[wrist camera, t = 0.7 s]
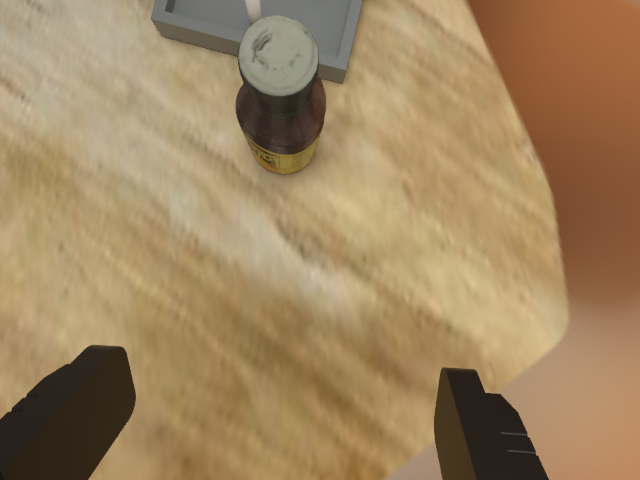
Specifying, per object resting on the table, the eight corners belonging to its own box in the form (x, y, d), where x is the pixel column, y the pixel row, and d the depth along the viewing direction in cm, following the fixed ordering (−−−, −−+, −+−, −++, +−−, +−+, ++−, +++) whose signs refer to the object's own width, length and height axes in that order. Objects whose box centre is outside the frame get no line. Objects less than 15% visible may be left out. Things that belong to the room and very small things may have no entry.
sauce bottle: (242, 127, 39) (186, 4, 19) (302, 104, 39) (307, -40, 20) (267, 189, 39) (238, 130, 19) (327, 166, 39) (357, 85, 20)
